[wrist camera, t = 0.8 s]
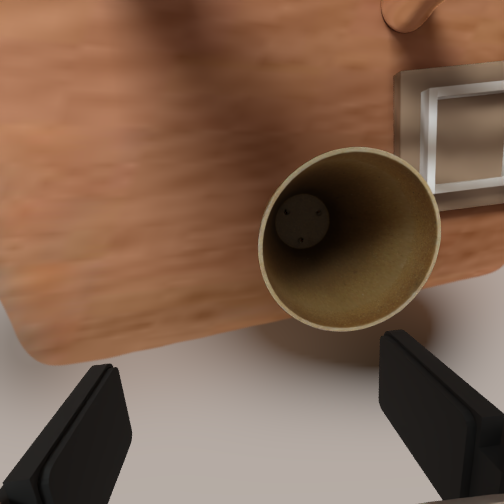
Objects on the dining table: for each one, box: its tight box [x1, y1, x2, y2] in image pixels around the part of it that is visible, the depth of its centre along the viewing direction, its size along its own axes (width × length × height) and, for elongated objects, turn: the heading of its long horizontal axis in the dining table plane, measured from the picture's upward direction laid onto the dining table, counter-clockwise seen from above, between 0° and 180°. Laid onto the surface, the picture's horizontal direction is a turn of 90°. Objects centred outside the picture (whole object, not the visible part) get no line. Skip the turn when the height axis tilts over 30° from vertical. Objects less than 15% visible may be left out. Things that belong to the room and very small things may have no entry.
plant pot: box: [258, 147, 441, 332], centre depth 30 cm, size 15×15×16 cm
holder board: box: [394, 61, 504, 211], centre depth 36 cm, size 17×17×3 cm
